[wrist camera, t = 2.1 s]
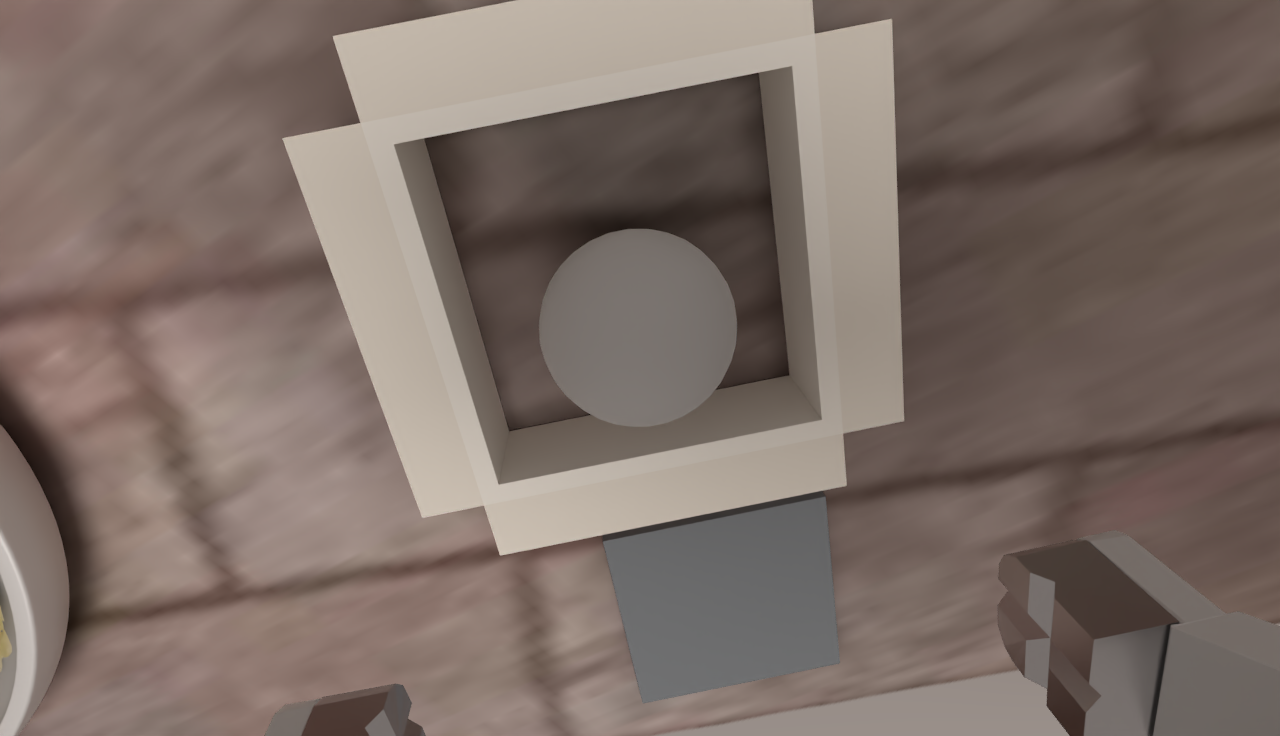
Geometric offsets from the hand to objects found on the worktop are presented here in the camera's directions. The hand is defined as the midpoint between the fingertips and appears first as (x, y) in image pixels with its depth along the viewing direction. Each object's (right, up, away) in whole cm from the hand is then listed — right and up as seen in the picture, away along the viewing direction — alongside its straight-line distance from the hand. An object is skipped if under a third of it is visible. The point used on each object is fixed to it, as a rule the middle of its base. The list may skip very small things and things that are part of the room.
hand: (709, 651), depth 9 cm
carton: (-2, +8, +19) cm, 21 cm away
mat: (+4, -8, +27) cm, 28 cm away
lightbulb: (-2, +8, +20) cm, 21 cm away
